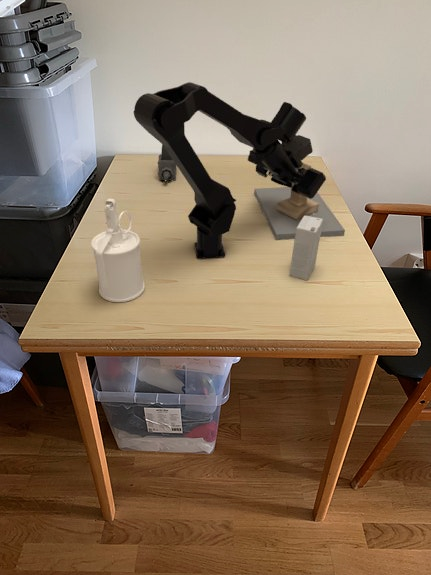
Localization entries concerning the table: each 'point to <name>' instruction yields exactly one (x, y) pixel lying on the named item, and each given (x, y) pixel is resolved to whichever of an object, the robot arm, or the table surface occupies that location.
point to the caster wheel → (166, 166)
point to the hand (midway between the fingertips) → (303, 190)
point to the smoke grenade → (118, 259)
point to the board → (287, 225)
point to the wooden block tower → (298, 203)
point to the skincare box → (305, 247)
